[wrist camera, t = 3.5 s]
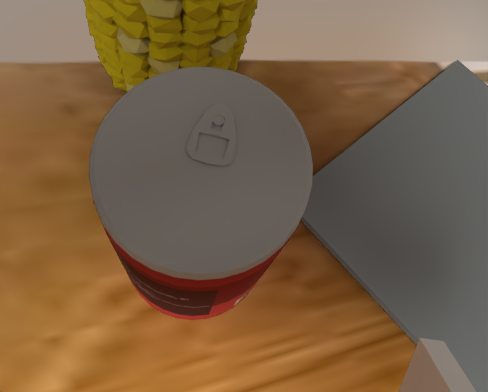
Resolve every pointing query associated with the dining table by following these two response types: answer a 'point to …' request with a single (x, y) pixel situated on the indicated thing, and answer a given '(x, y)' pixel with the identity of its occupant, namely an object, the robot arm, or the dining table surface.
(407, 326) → the rubber mat
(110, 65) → the food
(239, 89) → the canned food
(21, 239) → the dining table surface
